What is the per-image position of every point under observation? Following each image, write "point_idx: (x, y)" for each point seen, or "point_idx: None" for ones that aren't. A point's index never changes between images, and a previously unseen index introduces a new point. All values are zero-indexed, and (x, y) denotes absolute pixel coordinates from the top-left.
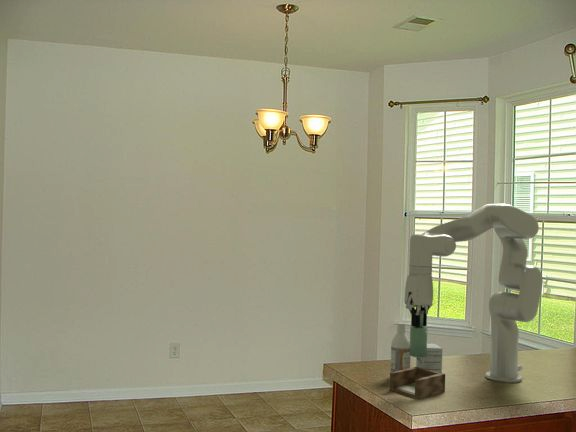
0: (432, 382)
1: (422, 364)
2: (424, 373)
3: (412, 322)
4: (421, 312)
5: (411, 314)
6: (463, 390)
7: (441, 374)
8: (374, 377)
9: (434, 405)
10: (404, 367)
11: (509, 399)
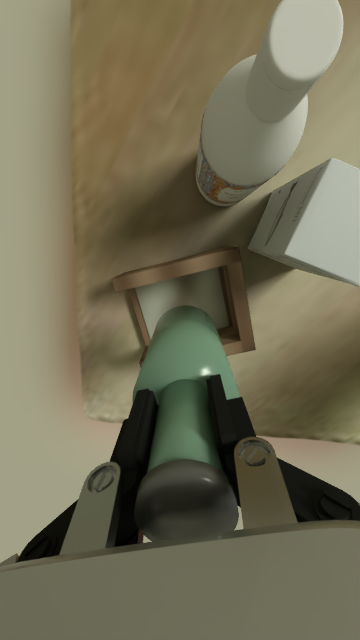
0: None
1: (262, 250)
2: (230, 291)
3: (124, 428)
4: (175, 538)
5: (117, 451)
6: (296, 336)
7: (242, 349)
8: (155, 131)
9: None
10: (222, 200)
11: (328, 416)
